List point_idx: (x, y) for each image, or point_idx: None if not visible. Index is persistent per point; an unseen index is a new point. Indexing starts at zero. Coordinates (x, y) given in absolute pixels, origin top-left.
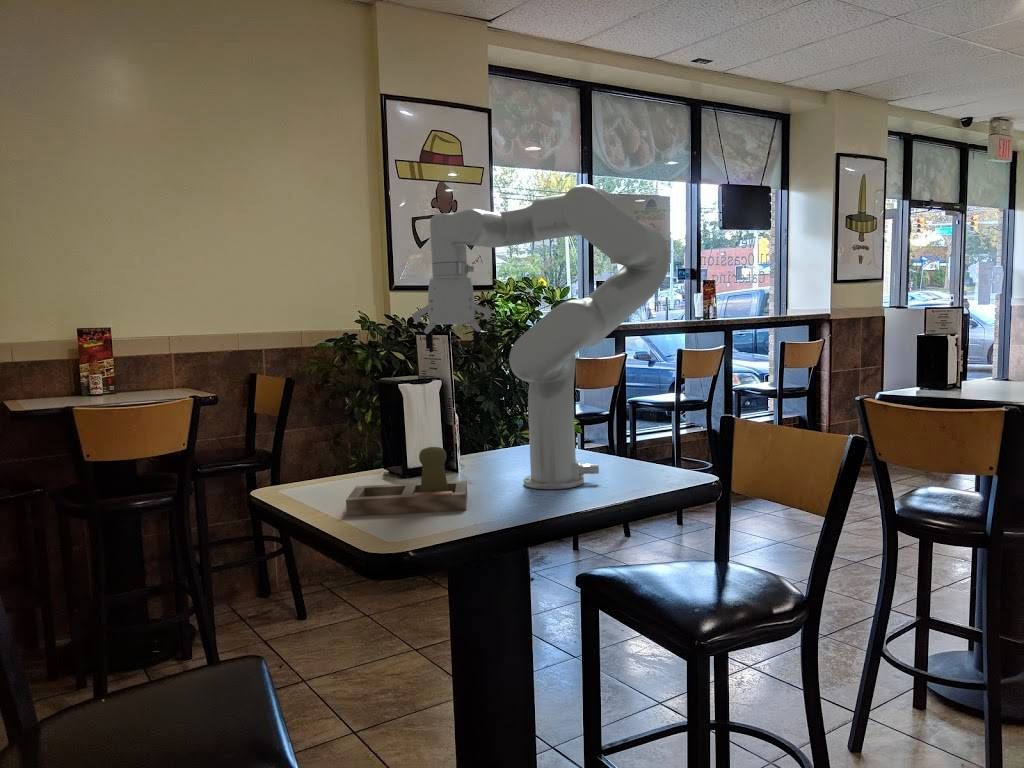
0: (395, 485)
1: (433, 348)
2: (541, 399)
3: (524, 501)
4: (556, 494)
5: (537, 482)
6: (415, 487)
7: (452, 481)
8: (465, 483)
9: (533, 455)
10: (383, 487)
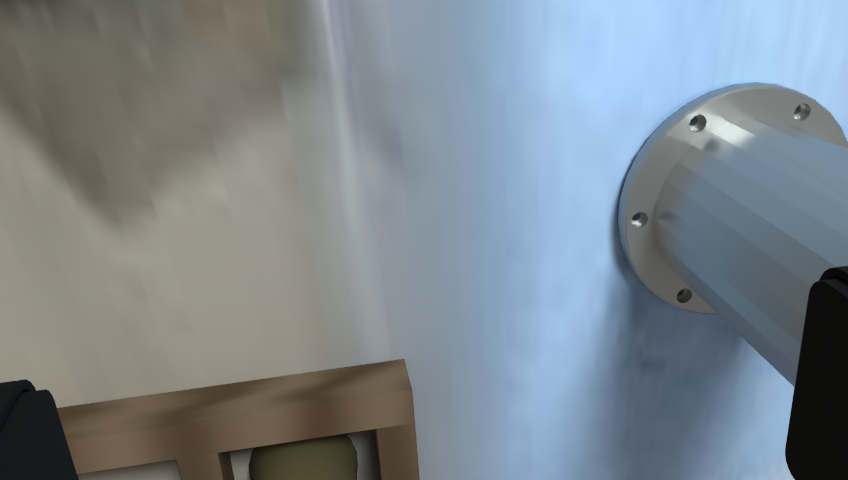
0: (130, 452)
1: (32, 410)
2: None
3: (596, 437)
4: (707, 357)
5: (669, 277)
6: (220, 461)
7: (356, 399)
8: (411, 432)
9: (712, 305)
10: (86, 472)
